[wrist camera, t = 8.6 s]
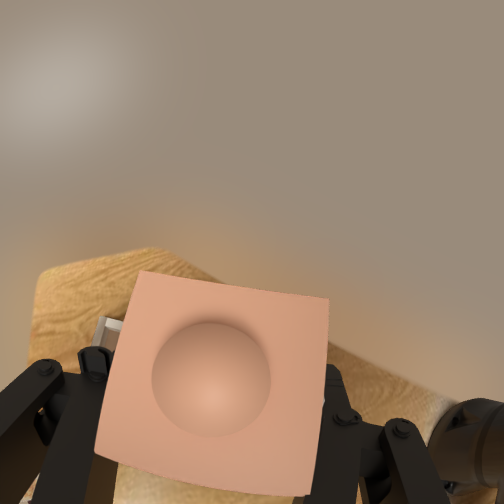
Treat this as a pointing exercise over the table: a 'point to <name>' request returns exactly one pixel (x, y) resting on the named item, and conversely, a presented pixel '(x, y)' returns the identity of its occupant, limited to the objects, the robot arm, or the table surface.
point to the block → (217, 386)
